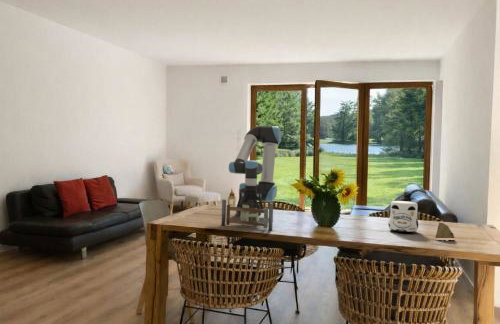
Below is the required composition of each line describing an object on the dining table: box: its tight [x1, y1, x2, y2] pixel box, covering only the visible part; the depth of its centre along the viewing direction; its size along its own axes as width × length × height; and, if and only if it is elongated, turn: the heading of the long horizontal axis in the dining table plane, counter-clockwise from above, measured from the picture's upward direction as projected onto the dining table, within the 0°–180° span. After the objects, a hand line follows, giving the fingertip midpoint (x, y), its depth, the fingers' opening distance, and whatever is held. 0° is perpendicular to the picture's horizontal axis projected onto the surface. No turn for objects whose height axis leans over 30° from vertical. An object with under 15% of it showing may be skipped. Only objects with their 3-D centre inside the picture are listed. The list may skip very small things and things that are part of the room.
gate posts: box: [221, 199, 274, 231], centre depth 256 cm, size 2×32×16 cm, turn 72°
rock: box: [435, 222, 455, 238], centre depth 239 cm, size 11×9×10 cm
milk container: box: [387, 200, 419, 233], centre depth 260 cm, size 17×17×18 cm
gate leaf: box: [225, 204, 269, 229], centre depth 256 cm, size 2×26×12 cm, turn 72°
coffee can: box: [241, 201, 259, 227], centre depth 267 cm, size 10×10×14 cm
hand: (249, 220), depth 267 cm, fingers closed on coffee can, 10 cm apart
